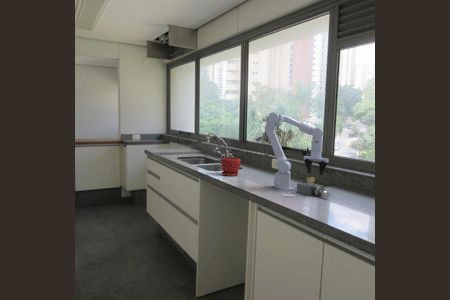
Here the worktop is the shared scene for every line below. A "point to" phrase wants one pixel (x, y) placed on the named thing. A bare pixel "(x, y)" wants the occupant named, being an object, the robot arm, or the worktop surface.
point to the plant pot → (230, 166)
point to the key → (310, 181)
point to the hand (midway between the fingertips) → (315, 173)
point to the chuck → (312, 190)
